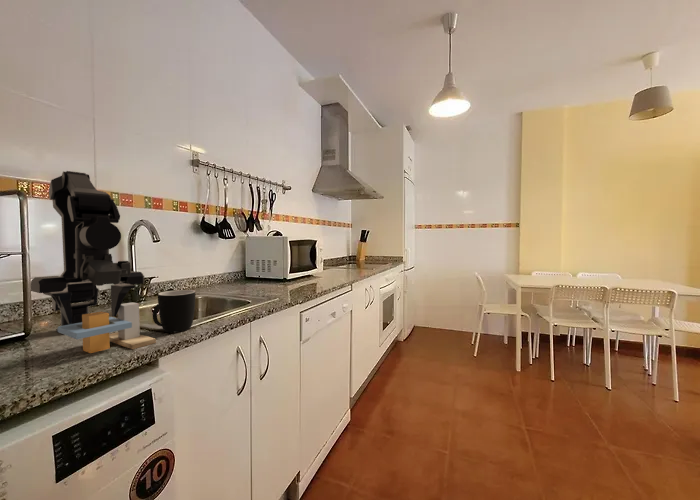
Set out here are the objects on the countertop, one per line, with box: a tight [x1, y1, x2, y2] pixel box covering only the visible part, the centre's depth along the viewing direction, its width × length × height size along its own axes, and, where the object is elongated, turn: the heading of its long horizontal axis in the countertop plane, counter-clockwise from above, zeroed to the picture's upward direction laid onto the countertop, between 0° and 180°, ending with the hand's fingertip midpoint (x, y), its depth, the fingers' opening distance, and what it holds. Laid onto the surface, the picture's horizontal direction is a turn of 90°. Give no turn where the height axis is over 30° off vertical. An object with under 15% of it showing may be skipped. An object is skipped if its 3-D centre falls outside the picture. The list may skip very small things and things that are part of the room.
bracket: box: [57, 302, 141, 340], centre depth 71 cm, size 10×13×8 cm
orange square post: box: [82, 311, 111, 354], centre depth 70 cm, size 4×4×8 cm
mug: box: [152, 289, 196, 333], centre depth 84 cm, size 12×9×10 cm
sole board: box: [109, 331, 157, 350], centre depth 76 cm, size 14×5×1 cm, turn 59°
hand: (93, 319), depth 70 cm, fingers open, 8 cm apart
